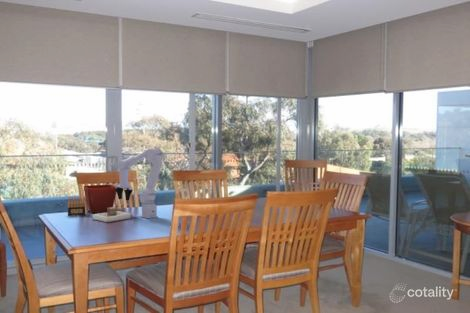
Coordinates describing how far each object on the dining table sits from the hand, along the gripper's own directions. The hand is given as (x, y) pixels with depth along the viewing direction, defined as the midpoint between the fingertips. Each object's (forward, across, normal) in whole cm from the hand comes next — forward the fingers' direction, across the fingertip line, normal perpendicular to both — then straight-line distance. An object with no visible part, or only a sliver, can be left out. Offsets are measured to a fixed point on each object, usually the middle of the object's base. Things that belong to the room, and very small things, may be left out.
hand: (123, 199), depth 299 cm
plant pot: (+10, -21, -4) cm, 24 cm away
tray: (+9, +9, -16) cm, 20 cm away
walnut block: (+9, +9, -16) cm, 20 cm away
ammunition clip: (+10, -19, -22) cm, 31 cm away
